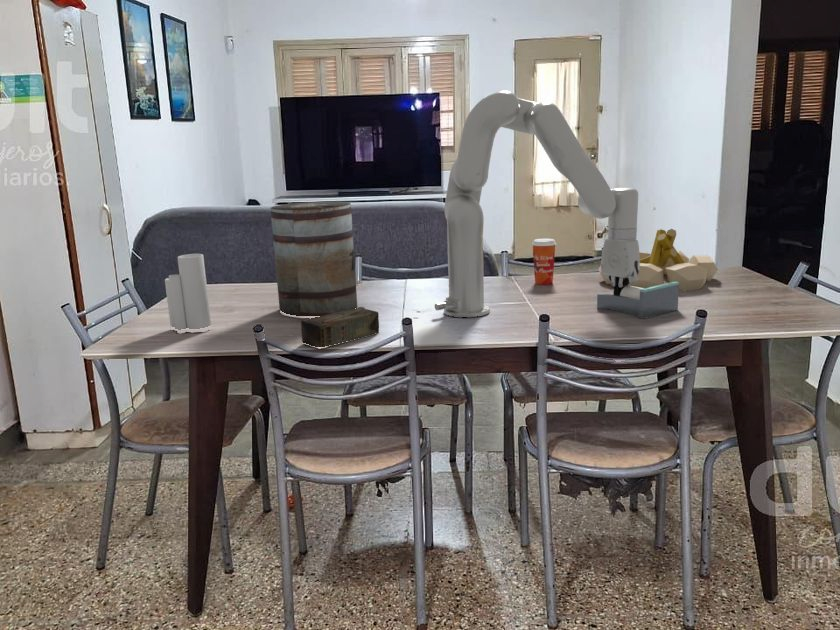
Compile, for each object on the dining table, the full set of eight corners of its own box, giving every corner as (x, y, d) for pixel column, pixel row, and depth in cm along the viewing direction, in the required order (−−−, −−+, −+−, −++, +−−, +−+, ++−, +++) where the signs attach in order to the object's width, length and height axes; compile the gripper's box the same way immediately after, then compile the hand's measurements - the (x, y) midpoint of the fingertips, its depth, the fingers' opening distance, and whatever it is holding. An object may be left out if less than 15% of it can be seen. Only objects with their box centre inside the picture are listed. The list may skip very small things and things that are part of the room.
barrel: (369, 301, 217) (363, 201, 209) (338, 320, 196) (330, 209, 189) (301, 299, 224) (293, 201, 216) (265, 317, 203) (255, 210, 196)
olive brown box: (381, 334, 182) (379, 308, 180) (320, 352, 169) (317, 324, 167) (361, 328, 187) (359, 304, 186) (300, 345, 174) (298, 319, 173)
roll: (664, 311, 191) (665, 289, 189) (649, 315, 188) (650, 292, 186) (633, 305, 199) (634, 284, 198) (618, 308, 196) (619, 287, 195)
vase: (215, 326, 195) (207, 253, 190) (205, 333, 188) (196, 258, 183) (175, 327, 196) (165, 254, 191) (163, 334, 189) (153, 259, 184)
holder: (642, 319, 185) (643, 290, 183) (595, 308, 197) (596, 281, 196) (677, 310, 192) (679, 282, 190) (630, 300, 205) (631, 273, 203)
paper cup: (529, 285, 230) (529, 241, 226) (534, 280, 237) (533, 238, 233) (554, 285, 227) (554, 241, 224) (557, 281, 234) (558, 238, 231)
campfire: (700, 297, 206) (703, 238, 202) (586, 288, 224) (586, 233, 220) (724, 275, 234) (727, 222, 230) (621, 268, 252) (622, 219, 248)
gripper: (591, 233, 199) (589, 297, 203) (635, 238, 187) (632, 307, 191) (609, 230, 203) (607, 293, 207) (653, 235, 191) (650, 302, 195)
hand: (619, 300), depth 199 cm, fingers closed
